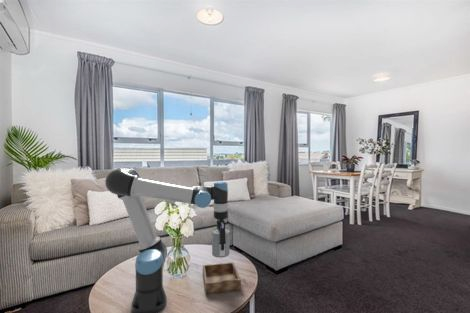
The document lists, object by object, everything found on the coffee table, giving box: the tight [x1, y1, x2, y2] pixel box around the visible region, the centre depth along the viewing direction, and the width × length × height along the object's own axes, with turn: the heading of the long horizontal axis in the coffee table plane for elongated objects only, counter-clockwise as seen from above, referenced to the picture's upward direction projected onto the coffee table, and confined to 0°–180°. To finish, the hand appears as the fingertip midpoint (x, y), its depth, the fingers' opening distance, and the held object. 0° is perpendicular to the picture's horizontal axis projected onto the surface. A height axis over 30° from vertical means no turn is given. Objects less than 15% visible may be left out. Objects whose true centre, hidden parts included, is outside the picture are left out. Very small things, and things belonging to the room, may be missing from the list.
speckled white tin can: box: [211, 228, 231, 259], centre depth 126 cm, size 10×10×12 cm
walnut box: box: [202, 261, 242, 295], centre depth 127 cm, size 18×19×6 cm
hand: (220, 251), depth 126 cm, fingers closed on speckled white tin can, 9 cm apart
